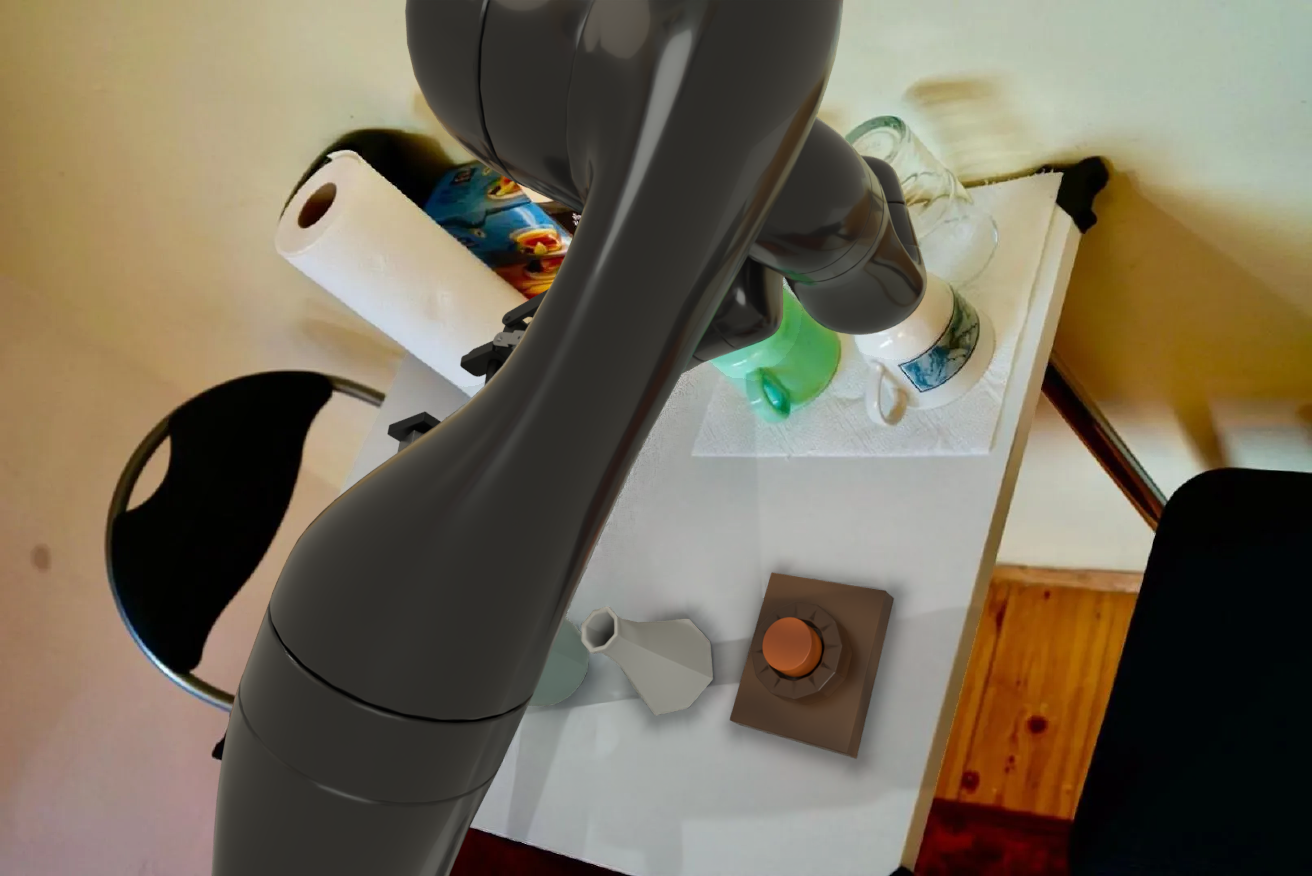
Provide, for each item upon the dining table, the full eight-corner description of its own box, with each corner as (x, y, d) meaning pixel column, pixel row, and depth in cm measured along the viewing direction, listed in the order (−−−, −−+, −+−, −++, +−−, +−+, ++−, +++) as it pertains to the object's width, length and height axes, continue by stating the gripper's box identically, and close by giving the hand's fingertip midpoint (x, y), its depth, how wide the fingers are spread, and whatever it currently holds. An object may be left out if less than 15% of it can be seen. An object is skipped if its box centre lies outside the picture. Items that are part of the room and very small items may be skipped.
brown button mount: (857, 759, 58) (835, 748, 56) (740, 725, 64) (716, 714, 61) (894, 598, 62) (876, 581, 59) (781, 579, 67) (759, 563, 65)
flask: (696, 604, 70) (624, 560, 63) (729, 684, 66) (656, 645, 58) (624, 651, 72) (547, 613, 65) (651, 733, 67) (571, 701, 60)
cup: (617, 674, 71) (538, 638, 64) (547, 735, 72) (462, 706, 65) (581, 604, 77) (505, 564, 70) (517, 662, 78) (435, 628, 71)
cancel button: (814, 682, 59) (803, 675, 58) (767, 671, 61) (755, 664, 60) (828, 629, 60) (817, 621, 59) (781, 620, 62) (770, 612, 61)
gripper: (609, 226, 64) (441, 306, 72) (596, 393, 56) (410, 461, 64) (667, 285, 69) (504, 353, 77) (662, 445, 62) (482, 502, 70)
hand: (462, 402), depth 71 cm, fingers closed on press lever, 6 cm apart
